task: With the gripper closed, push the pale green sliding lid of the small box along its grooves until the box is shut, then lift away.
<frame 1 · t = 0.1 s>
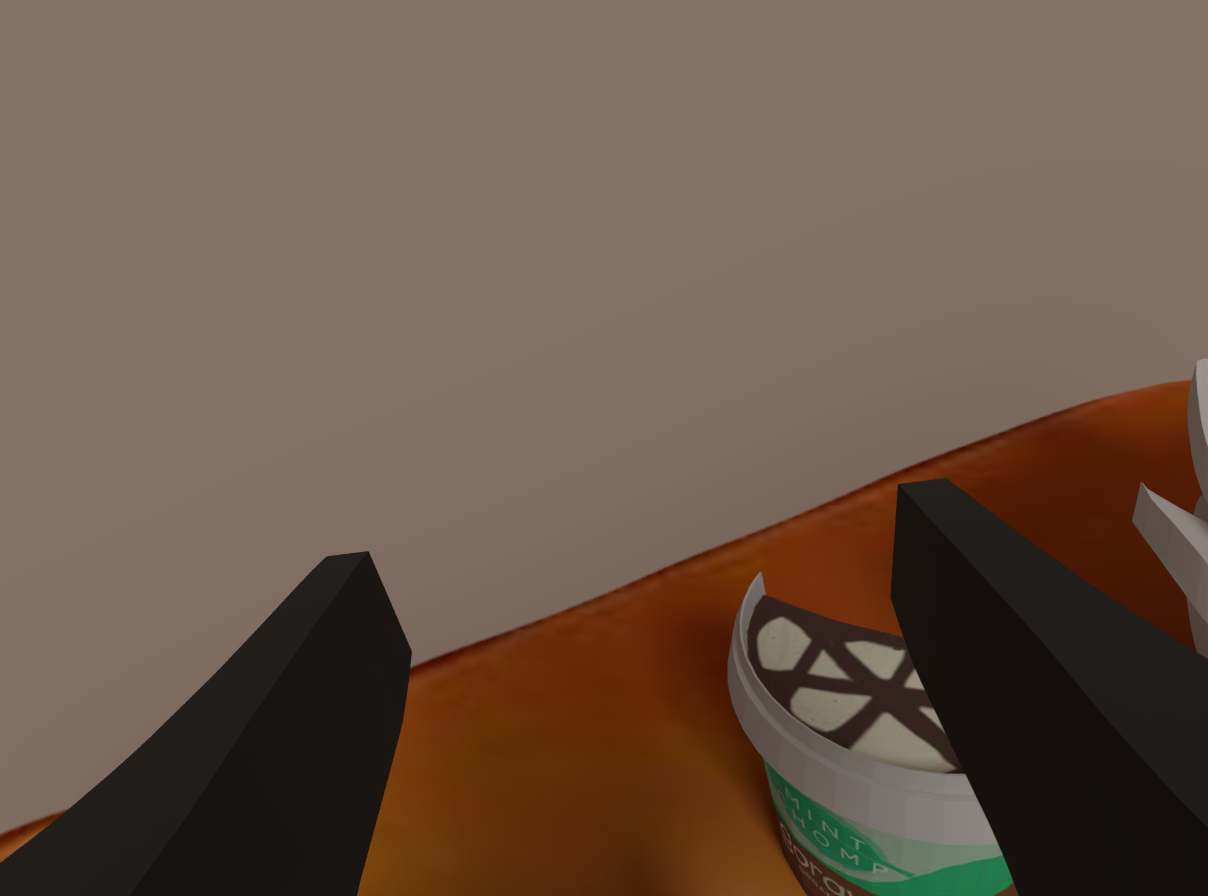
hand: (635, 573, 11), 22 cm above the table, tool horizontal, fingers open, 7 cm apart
food container: (871, 889, 28), on the table
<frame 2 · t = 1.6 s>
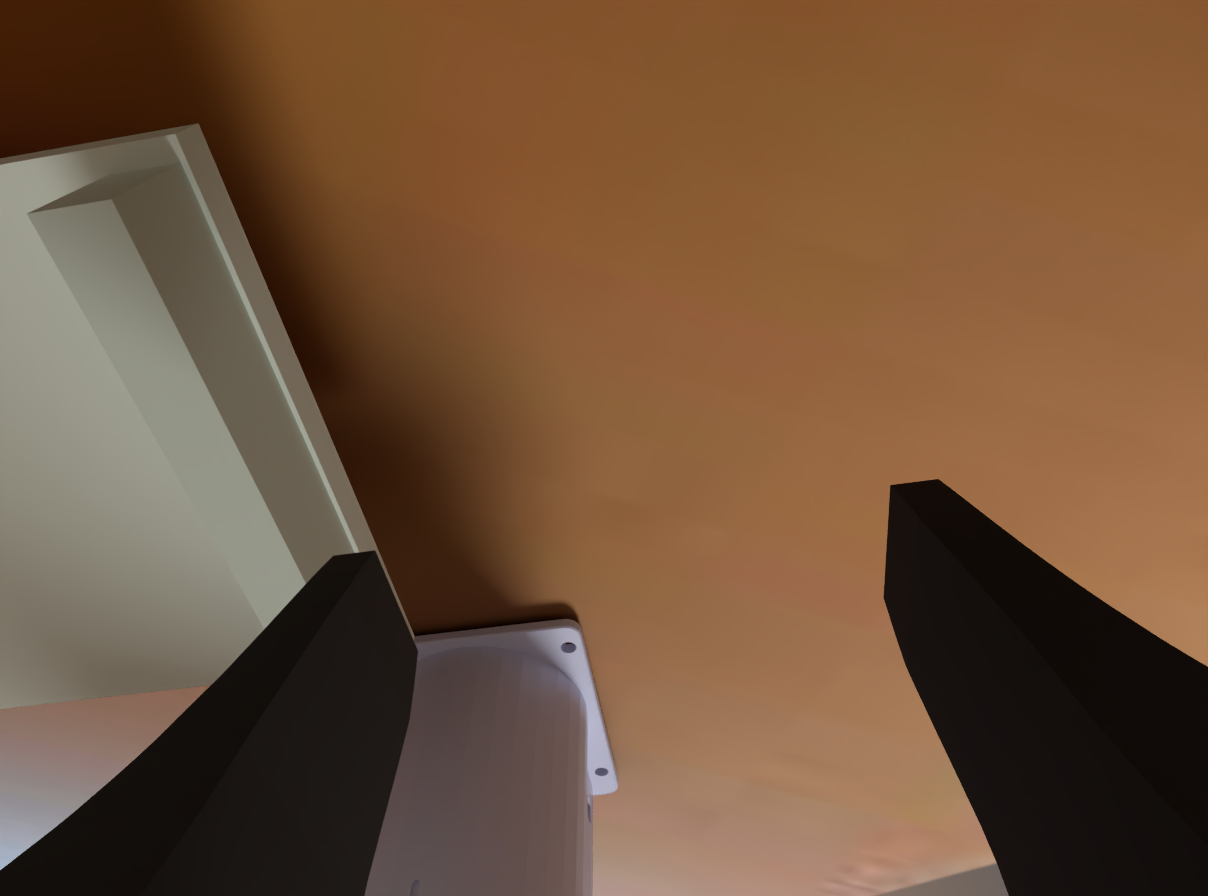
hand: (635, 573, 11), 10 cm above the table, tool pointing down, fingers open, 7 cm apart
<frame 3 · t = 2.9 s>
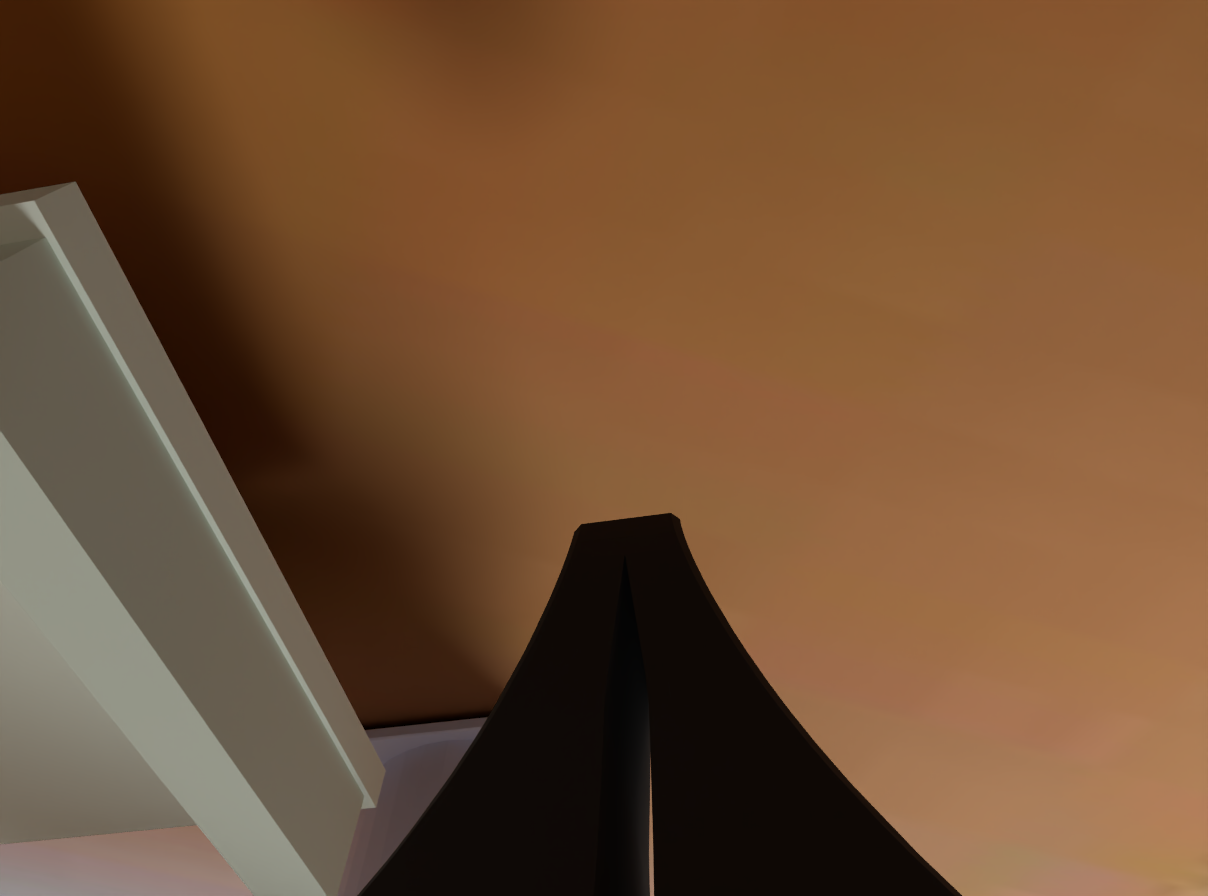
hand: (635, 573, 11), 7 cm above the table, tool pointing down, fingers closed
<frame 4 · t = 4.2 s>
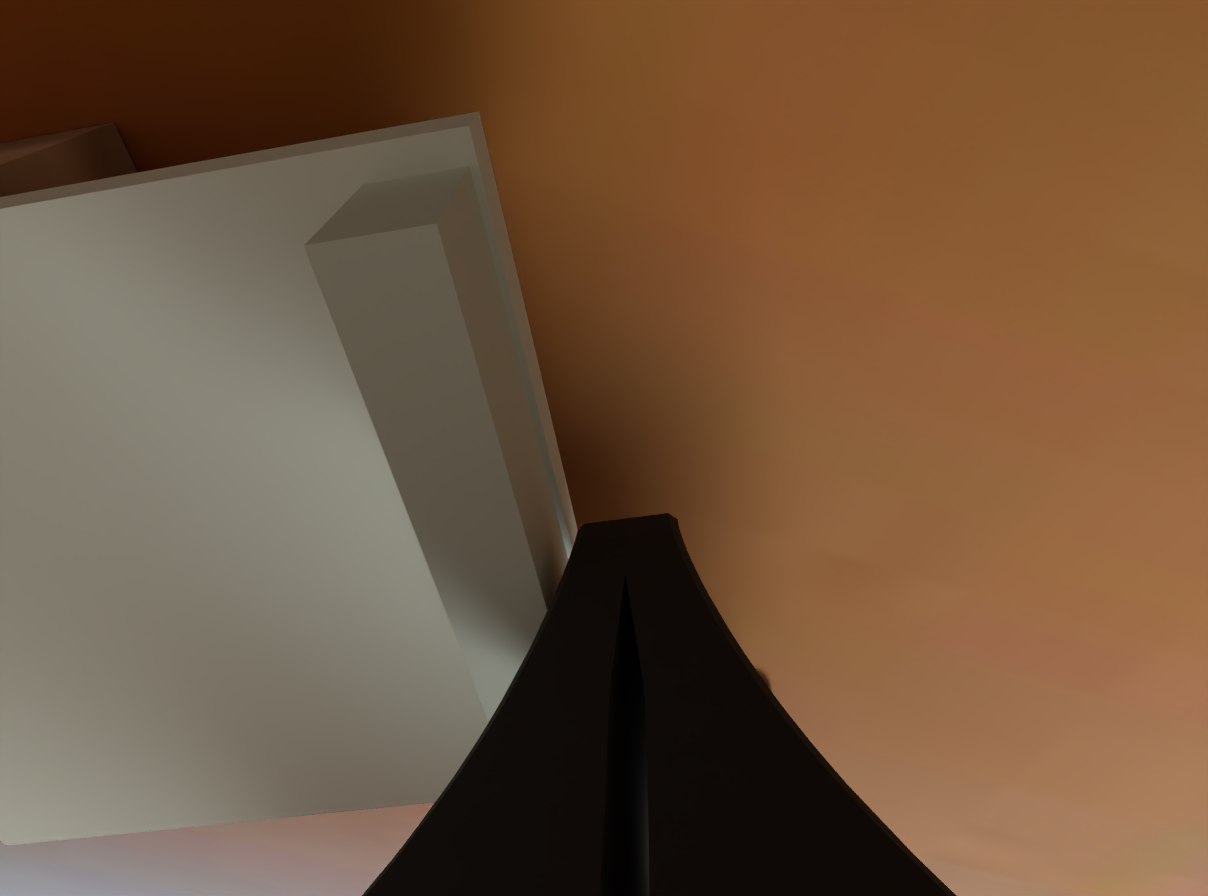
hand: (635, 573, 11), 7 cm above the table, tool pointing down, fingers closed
lid: (144, 629, 11), point 7 cm above the table, slide at -7.4 cm, touching gripper
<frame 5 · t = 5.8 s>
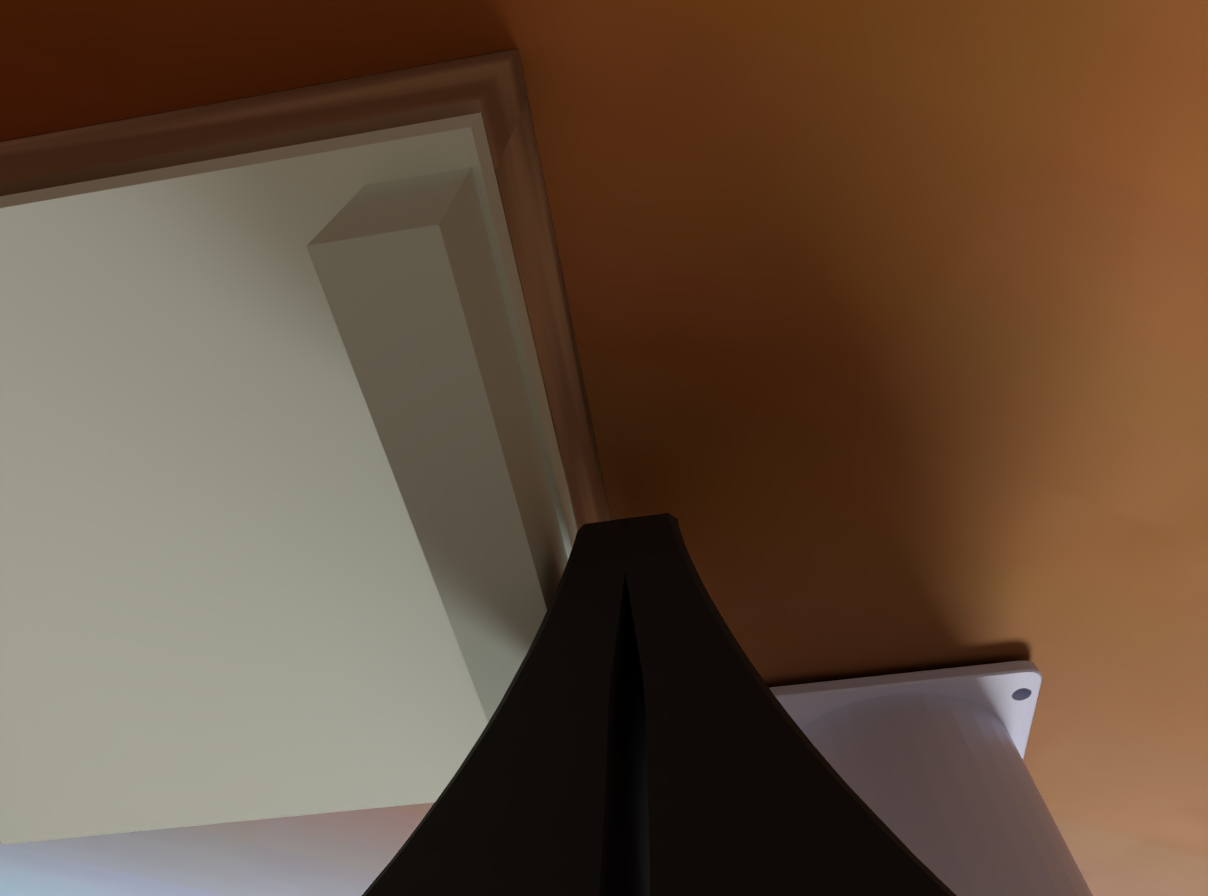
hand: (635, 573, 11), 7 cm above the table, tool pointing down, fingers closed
lid: (143, 628, 11), point 7 cm above the table, slide at 0.0 cm, touching gripper
box: (267, 405, 17), on the table
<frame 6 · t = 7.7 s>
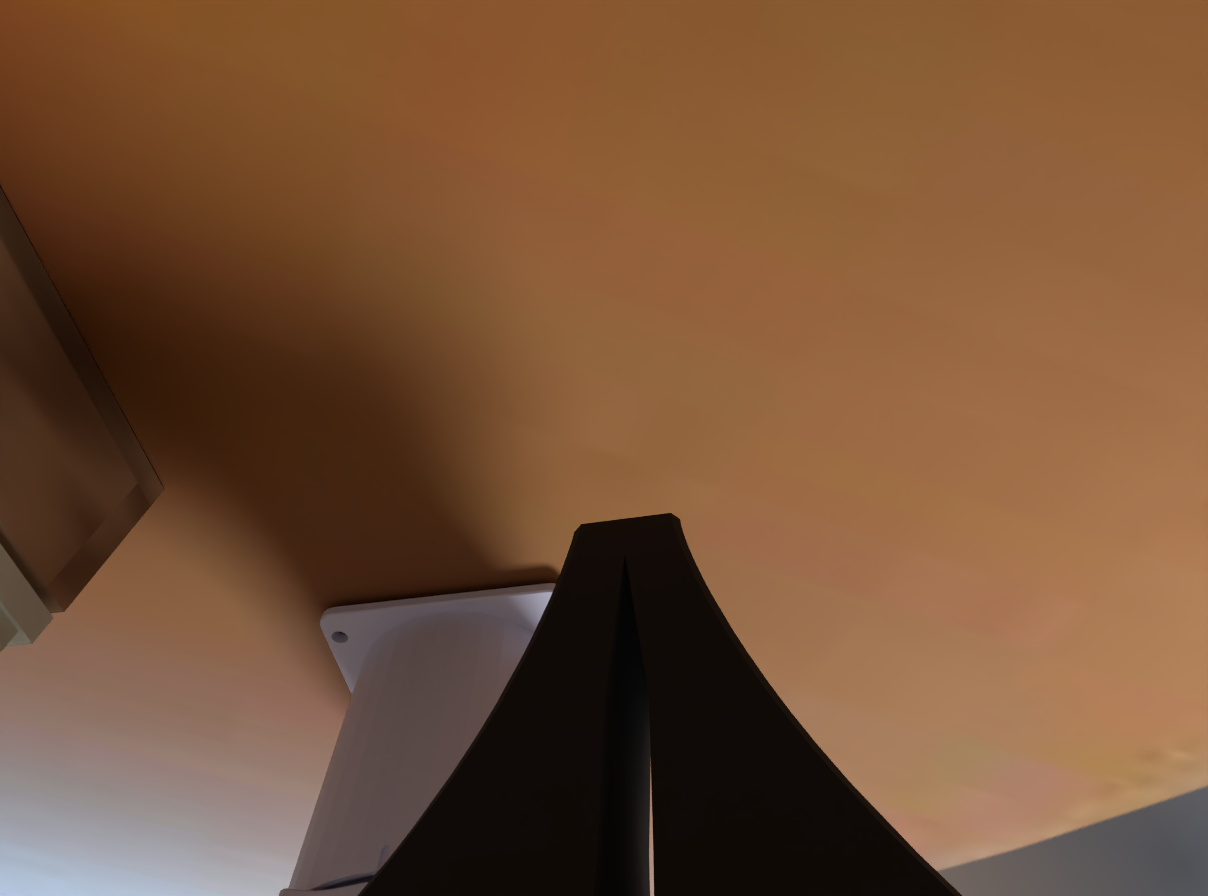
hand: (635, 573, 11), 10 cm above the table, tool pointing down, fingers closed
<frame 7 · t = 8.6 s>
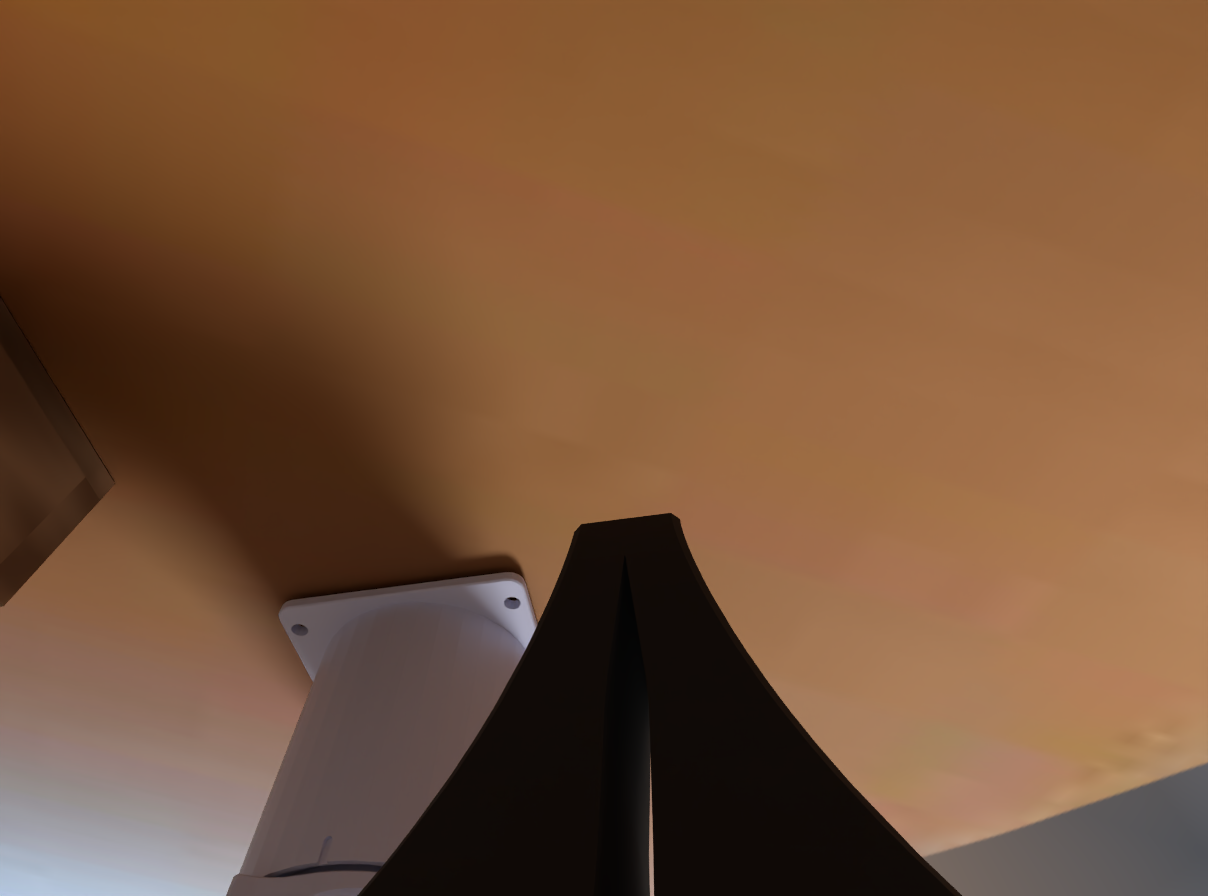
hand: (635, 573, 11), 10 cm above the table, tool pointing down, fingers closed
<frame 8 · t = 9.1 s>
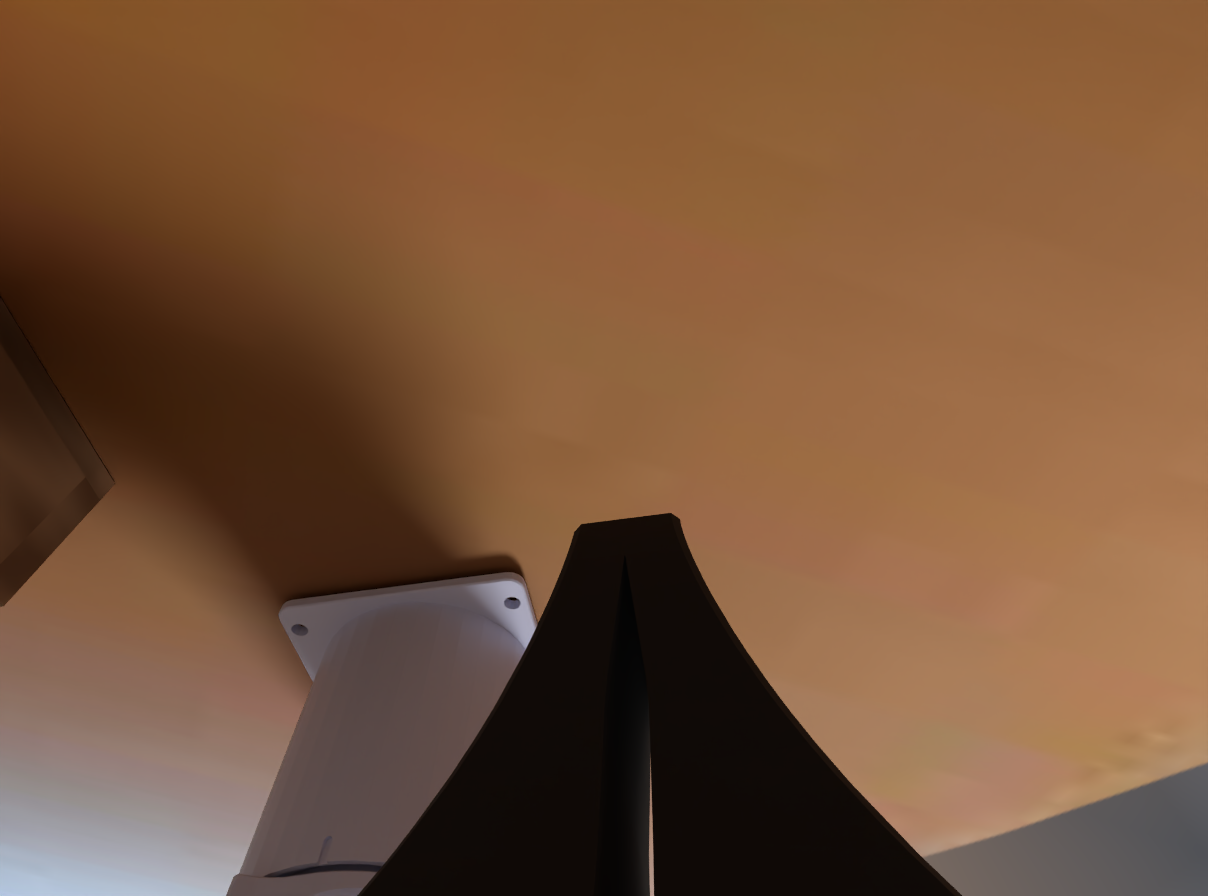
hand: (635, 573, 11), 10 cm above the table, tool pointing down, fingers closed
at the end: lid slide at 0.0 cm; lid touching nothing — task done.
